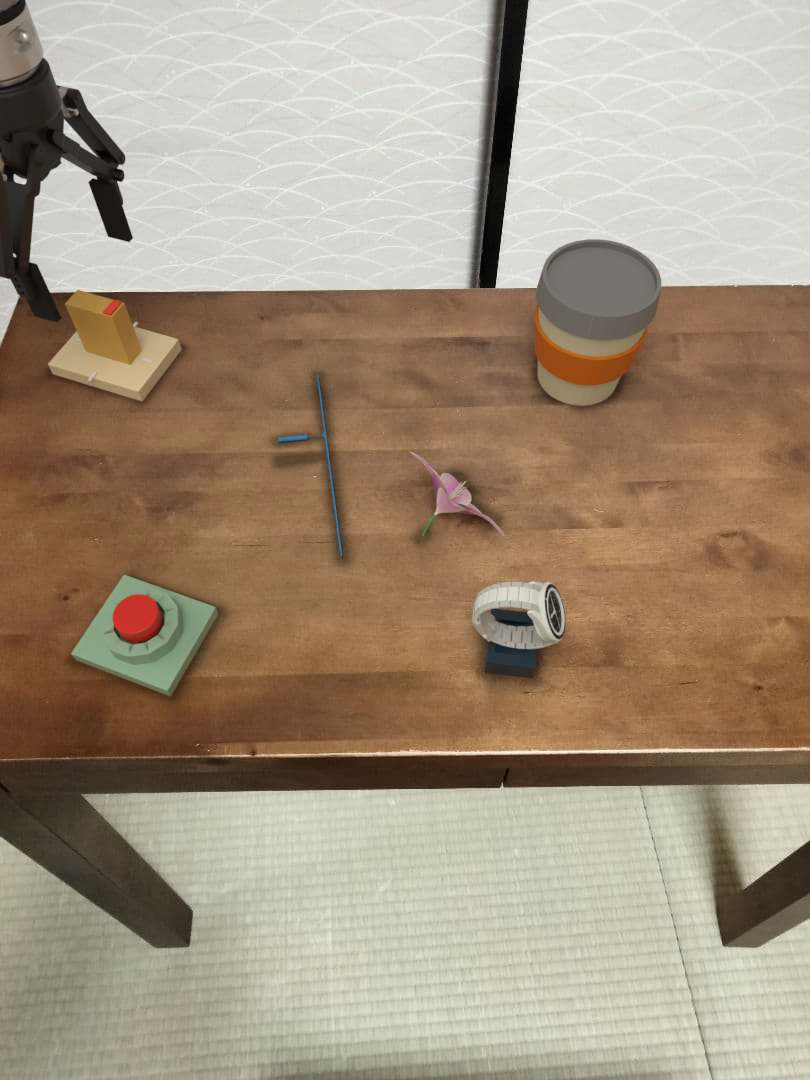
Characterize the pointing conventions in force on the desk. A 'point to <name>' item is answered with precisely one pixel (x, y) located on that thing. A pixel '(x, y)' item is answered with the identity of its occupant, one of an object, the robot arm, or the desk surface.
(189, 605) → the green button mount
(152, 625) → the bell button
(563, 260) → the reusable coffee cup
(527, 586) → the watch
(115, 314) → the thumbturn
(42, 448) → the desk surface
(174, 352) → the plate
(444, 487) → the lily
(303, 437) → the blue squeegee
